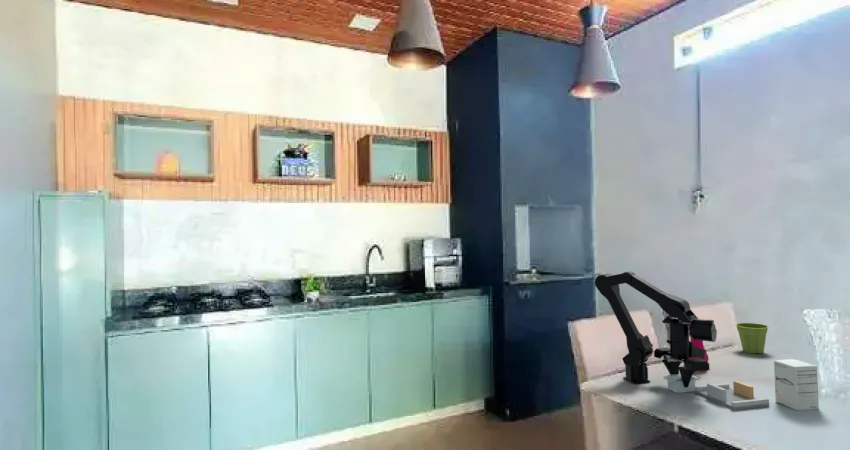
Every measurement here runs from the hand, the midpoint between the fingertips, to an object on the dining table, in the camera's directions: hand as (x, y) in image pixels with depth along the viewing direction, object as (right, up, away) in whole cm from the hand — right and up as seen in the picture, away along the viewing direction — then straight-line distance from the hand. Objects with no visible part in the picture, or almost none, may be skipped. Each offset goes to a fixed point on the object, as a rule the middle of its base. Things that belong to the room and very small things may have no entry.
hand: (681, 385), depth 150 cm
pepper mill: (+18, -2, +22) cm, 28 cm away
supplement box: (+25, -1, -16) cm, 30 cm away
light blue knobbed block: (0, -2, 0) cm, 2 cm away
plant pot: (+55, -1, +44) cm, 70 cm away
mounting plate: (+10, -1, -9) cm, 14 cm away
